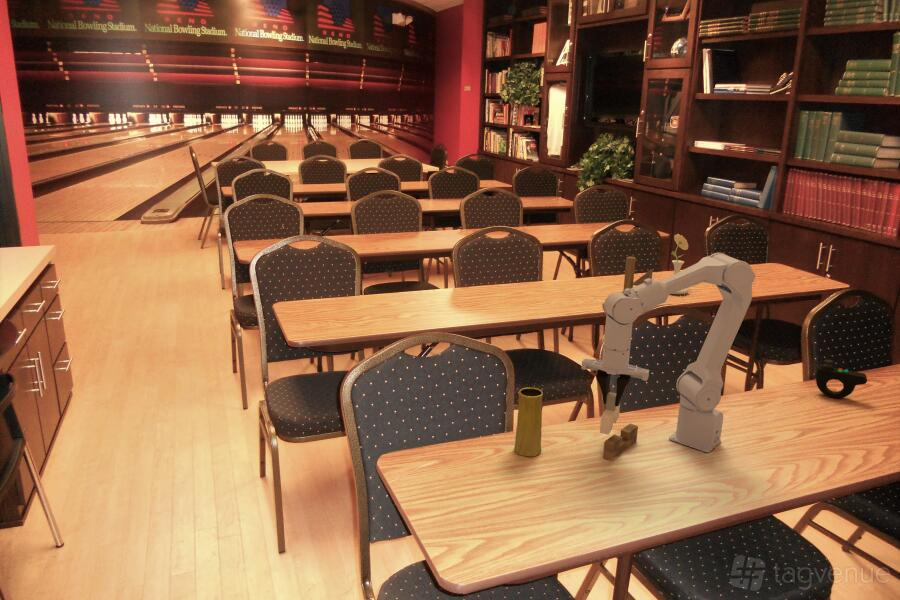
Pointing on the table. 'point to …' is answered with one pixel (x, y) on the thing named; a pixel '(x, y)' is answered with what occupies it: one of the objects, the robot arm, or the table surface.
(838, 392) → the controller
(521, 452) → the vase
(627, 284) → the wooden block
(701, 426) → the robot arm
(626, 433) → the walnut slotted plate
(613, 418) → the burr puzzle piece
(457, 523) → the table surface
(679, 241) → the flower in vase
